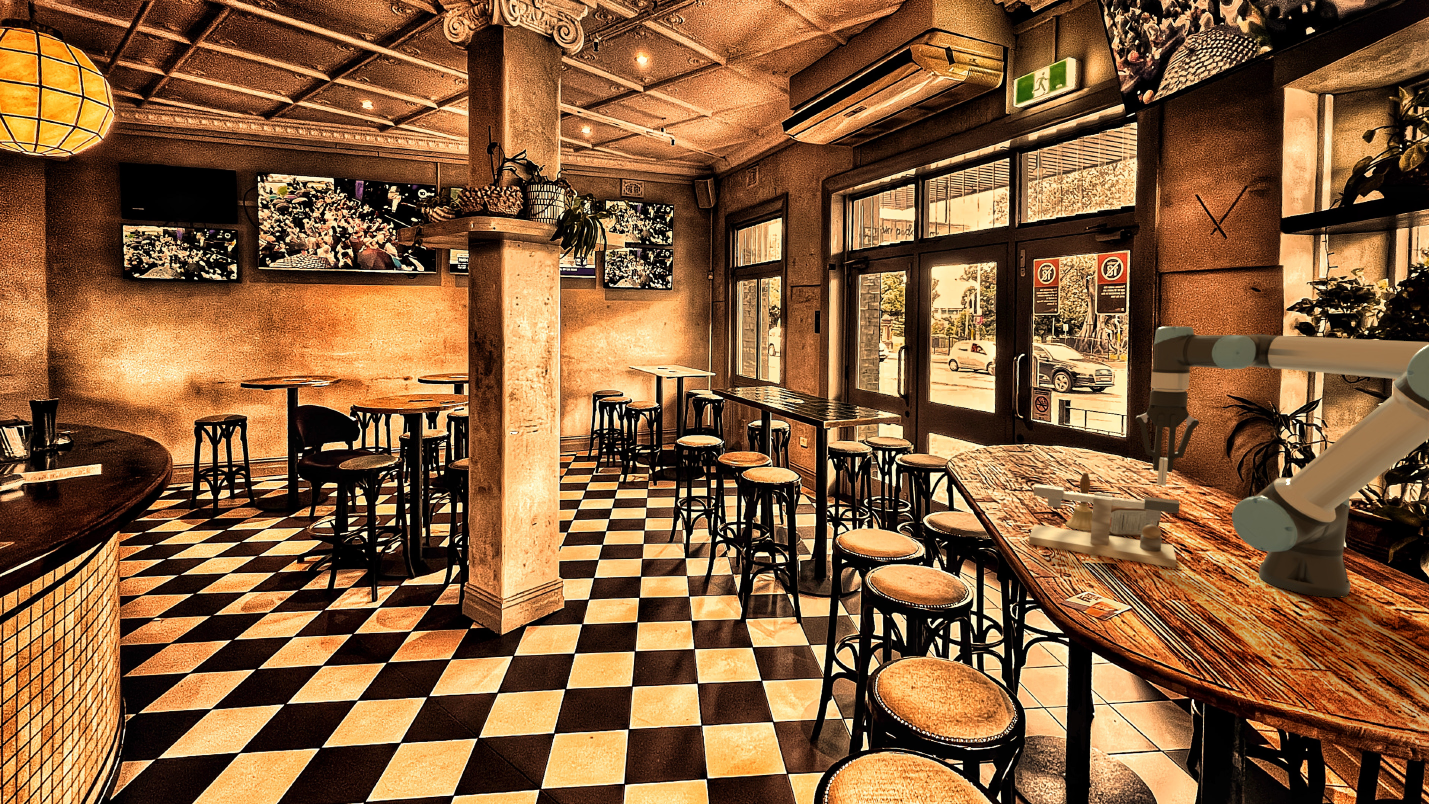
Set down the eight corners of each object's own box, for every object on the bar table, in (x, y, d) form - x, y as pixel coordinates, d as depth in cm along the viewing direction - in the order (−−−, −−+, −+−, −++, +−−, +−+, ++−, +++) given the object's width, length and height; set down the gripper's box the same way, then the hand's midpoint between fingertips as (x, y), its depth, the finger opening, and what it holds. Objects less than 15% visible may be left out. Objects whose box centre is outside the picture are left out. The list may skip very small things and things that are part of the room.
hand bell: (1103, 532, 180) (1107, 477, 178) (1071, 530, 182) (1075, 475, 180) (1092, 523, 188) (1096, 470, 186) (1061, 521, 190) (1065, 469, 188)
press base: (1172, 552, 164) (1176, 499, 162) (1175, 567, 154) (1180, 511, 152) (1033, 531, 181) (1036, 483, 179) (1028, 543, 171) (1032, 492, 169)
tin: (1153, 534, 178) (1156, 504, 177) (1160, 537, 175) (1162, 508, 174) (1097, 532, 180) (1099, 503, 179) (1102, 536, 177) (1104, 506, 176)
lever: (1176, 519, 159) (1178, 500, 158) (1177, 523, 156) (1179, 503, 155) (1034, 501, 176) (1035, 483, 175) (1032, 504, 173) (1033, 486, 172)
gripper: (1201, 389, 155) (1192, 484, 158) (1136, 387, 162) (1129, 477, 165) (1204, 392, 149) (1196, 491, 152) (1137, 389, 156) (1129, 483, 159)
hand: (1161, 484), depth 158 cm, fingers closed
